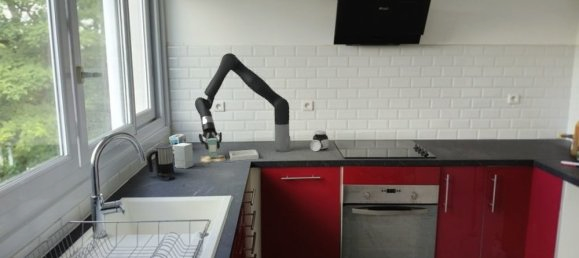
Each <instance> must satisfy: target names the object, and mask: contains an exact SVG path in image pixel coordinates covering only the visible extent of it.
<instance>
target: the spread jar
mask: <svg viewBox="0 0 579 258" xmlns="http://www.w3.org/2000/svg"><path fill="white" fill-rule="evenodd" d="M314 133H315V134H314V135H313V137H312V141H311V142H310V147H309V148H310V149H311V151H312V152H319V151H325V150H327V149H328V148H329V145H330V144H329V137H328V135H327V131H326V130H315V132H314Z"/></svg>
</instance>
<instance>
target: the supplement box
mask: <svg viewBox="0 0 579 258" xmlns="http://www.w3.org/2000/svg"><path fill="white" fill-rule="evenodd" d="M173 157H174V166H175V167H176V168H177V169H184V170H185V169H188V168H190V167H193V166H194V164H195V163H194V151H193V143H188V142H186V143H180V144H177V145H174V154H173Z"/></svg>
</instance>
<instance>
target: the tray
mask: <svg viewBox="0 0 579 258" xmlns="http://www.w3.org/2000/svg"><path fill="white" fill-rule="evenodd" d="M228 152H229V158H230V161H231V162H233V161H243V160H246V161H247V160H259V156H260V155H259V153H258V151H257V150H256V149H247V150H246V149H244V150H229V151H228Z"/></svg>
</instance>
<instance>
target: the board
mask: <svg viewBox="0 0 579 258" xmlns="http://www.w3.org/2000/svg"><path fill="white" fill-rule="evenodd" d="M226 159H227V158H226V157H225V154H217V157H209V155H203V156H201V155H200V164H201V165H202V164H210V163H215V162H216V163H217V162H218V163H219V162H226V161H227V160H226Z"/></svg>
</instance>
